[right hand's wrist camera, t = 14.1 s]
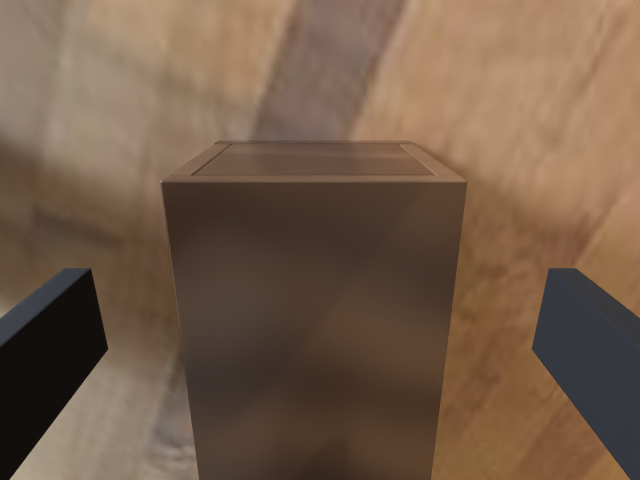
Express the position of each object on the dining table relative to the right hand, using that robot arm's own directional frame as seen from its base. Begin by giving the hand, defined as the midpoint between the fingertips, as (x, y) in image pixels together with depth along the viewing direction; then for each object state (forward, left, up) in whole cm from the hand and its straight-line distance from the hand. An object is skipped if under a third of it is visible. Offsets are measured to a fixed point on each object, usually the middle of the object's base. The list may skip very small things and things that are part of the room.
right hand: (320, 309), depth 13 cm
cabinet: (+3, -4, -12) cm, 13 cm away
